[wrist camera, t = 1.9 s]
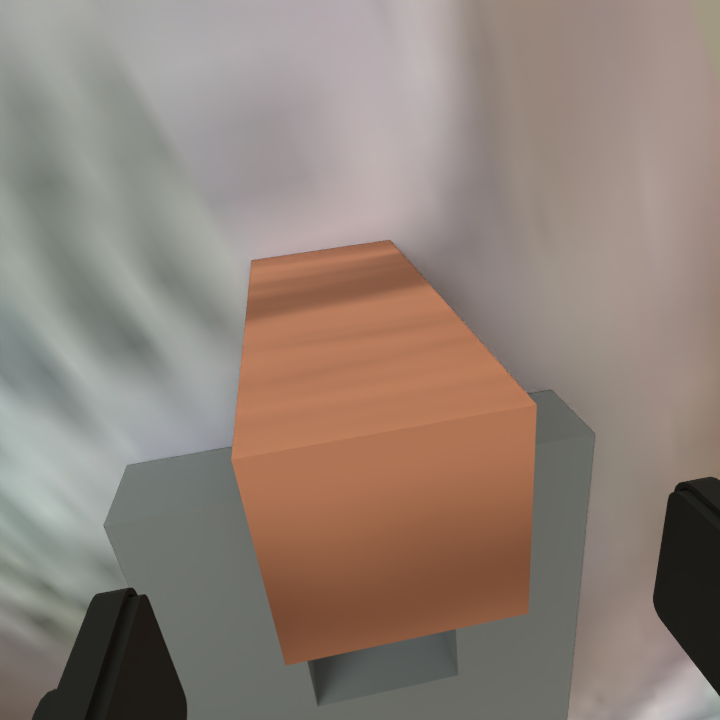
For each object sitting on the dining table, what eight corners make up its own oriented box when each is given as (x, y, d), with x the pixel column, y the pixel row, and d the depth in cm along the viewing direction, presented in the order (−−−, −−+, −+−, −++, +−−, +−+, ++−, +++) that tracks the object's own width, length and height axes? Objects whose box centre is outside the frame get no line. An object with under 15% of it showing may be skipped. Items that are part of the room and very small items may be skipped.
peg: (251, 260, 19) (231, 460, 8) (389, 239, 20) (536, 404, 9) (276, 383, 21) (285, 665, 11) (400, 362, 22) (527, 613, 11)
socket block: (126, 465, 22) (103, 525, 19) (551, 389, 23) (595, 433, 20) (224, 729, 30) (219, 803, 27) (537, 659, 31) (567, 721, 28)
